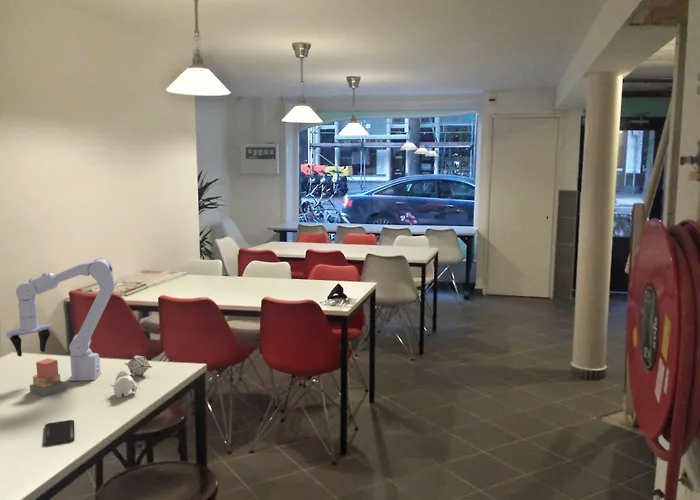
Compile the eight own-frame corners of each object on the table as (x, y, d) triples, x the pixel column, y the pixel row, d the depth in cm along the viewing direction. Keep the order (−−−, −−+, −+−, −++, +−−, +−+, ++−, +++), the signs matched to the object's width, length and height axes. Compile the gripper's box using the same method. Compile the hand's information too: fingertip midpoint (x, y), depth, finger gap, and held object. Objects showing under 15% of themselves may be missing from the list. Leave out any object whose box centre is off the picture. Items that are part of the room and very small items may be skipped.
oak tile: (49, 379, 218) (49, 371, 217) (60, 382, 215) (59, 374, 214) (33, 384, 212) (32, 376, 212) (44, 387, 209) (43, 379, 209)
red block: (48, 372, 216) (47, 358, 215) (58, 374, 214) (57, 360, 213) (37, 376, 212) (36, 362, 211) (46, 378, 210) (45, 364, 209)
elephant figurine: (141, 396, 209) (140, 375, 208) (110, 400, 205) (109, 379, 204) (139, 388, 216) (138, 368, 215) (110, 392, 212) (108, 372, 211)
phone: (73, 419, 188) (74, 439, 174) (74, 423, 188) (74, 442, 175) (44, 423, 185) (43, 444, 171) (45, 427, 185) (43, 447, 171)
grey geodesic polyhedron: (144, 384, 231) (160, 362, 231) (130, 383, 223) (147, 361, 223) (130, 369, 234) (146, 348, 234) (115, 368, 226) (131, 346, 226)
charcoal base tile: (51, 386, 219) (51, 378, 219) (66, 390, 215) (65, 382, 215) (30, 393, 213) (29, 384, 212) (44, 397, 209) (43, 389, 208)
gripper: (10, 321, 211) (13, 360, 213) (54, 314, 222) (56, 351, 224) (3, 318, 216) (5, 356, 218) (46, 311, 227) (49, 347, 229)
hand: (31, 353), depth 221 cm, fingers open, 7 cm apart
